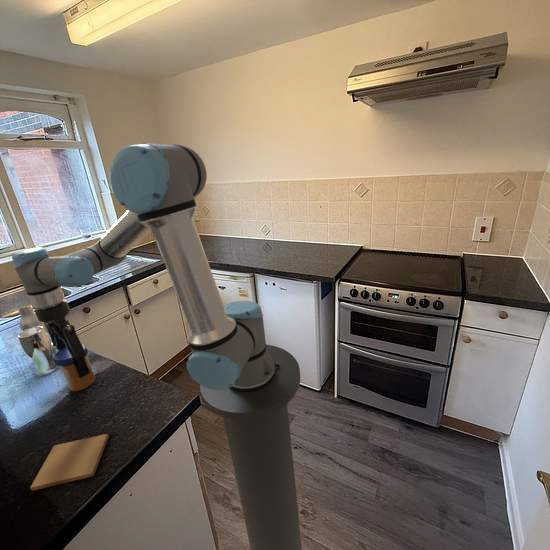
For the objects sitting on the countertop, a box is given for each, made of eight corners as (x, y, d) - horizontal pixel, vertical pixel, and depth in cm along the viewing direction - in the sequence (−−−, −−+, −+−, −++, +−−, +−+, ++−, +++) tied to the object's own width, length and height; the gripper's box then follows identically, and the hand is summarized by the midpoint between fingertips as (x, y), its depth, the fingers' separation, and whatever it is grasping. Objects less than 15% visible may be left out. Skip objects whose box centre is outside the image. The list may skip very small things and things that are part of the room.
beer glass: (64, 365, 102) (48, 327, 96) (43, 378, 96) (24, 339, 90) (52, 361, 104) (35, 324, 99) (30, 374, 99) (11, 335, 93)
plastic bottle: (47, 351, 110) (26, 303, 103) (62, 352, 109) (41, 304, 102) (31, 363, 105) (7, 313, 97) (46, 364, 103) (23, 313, 96)
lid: (63, 351, 92) (61, 346, 91) (92, 347, 93) (90, 341, 92) (50, 369, 84) (47, 362, 84) (81, 363, 85) (78, 357, 85)
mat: (109, 436, 72) (107, 433, 72) (93, 476, 63) (92, 473, 63) (55, 448, 70) (53, 445, 70) (31, 491, 61) (29, 487, 61)
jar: (99, 372, 96) (88, 344, 92) (90, 388, 89) (78, 358, 85) (75, 377, 95) (63, 349, 91) (64, 393, 88) (51, 363, 84)
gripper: (82, 304, 79) (107, 373, 88) (49, 292, 91) (74, 354, 99) (51, 317, 74) (81, 390, 82) (19, 302, 85) (49, 367, 93)
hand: (77, 370), depth 90 cm, fingers closed on lid, 8 cm apart
